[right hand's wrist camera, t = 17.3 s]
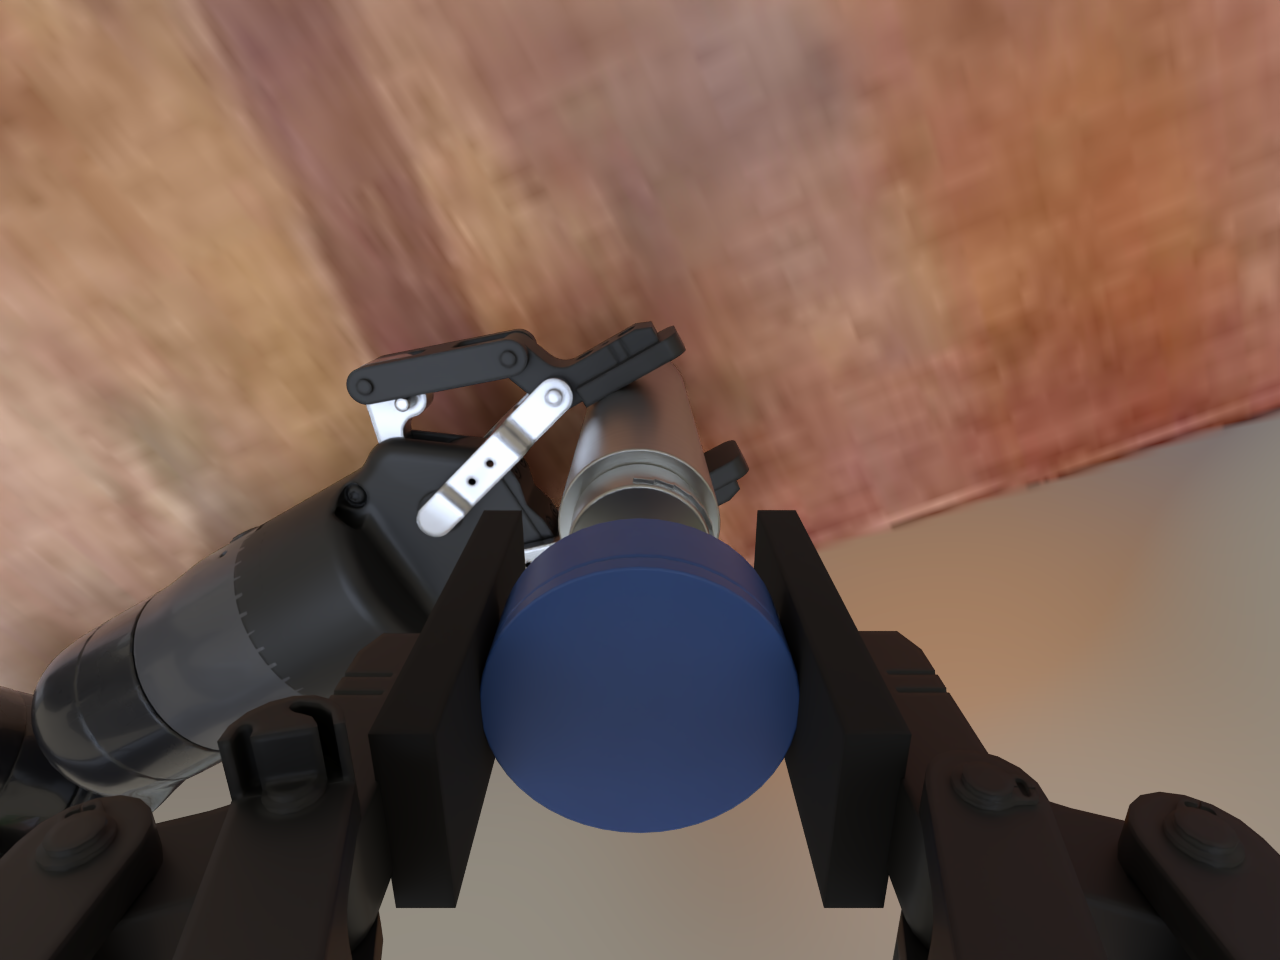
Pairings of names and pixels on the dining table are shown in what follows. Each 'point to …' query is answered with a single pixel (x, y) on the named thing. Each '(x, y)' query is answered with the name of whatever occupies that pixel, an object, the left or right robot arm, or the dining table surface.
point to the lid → (639, 678)
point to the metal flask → (640, 460)
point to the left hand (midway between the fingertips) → (708, 398)
